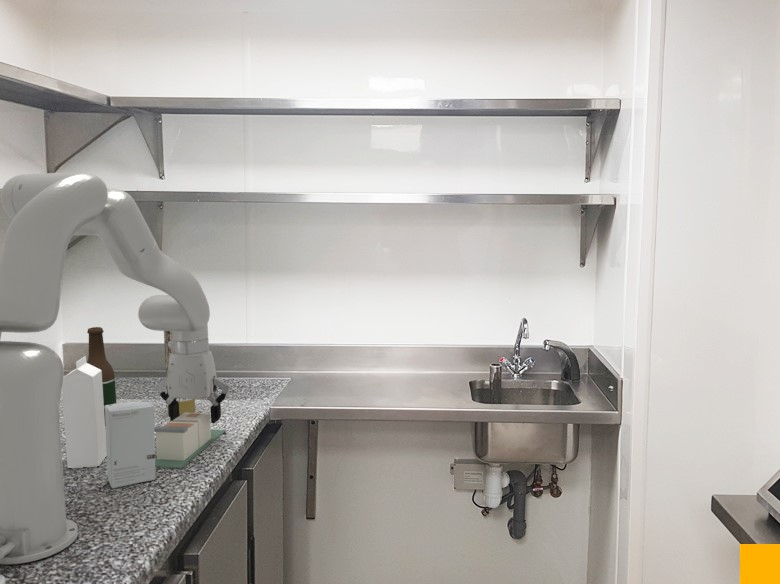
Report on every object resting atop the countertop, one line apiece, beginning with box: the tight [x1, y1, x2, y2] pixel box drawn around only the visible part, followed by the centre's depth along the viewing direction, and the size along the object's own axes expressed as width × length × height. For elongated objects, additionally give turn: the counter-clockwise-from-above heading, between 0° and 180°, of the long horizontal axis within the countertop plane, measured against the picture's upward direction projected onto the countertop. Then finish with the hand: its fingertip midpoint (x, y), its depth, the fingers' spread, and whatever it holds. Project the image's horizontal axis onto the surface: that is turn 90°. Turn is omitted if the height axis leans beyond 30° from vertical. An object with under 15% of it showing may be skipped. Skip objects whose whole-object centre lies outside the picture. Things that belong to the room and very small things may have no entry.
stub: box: [173, 412, 211, 448], centre depth 139 cm, size 6×6×6 cm
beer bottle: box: [86, 326, 117, 425], centre depth 155 cm, size 8×8×24 cm
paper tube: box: [163, 331, 196, 415], centre depth 161 cm, size 7×7×25 cm
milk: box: [61, 355, 107, 469], centre depth 128 cm, size 6×6×22 cm
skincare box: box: [105, 400, 157, 489], centre depth 120 cm, size 8×6×15 cm
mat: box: [155, 429, 226, 470], centre depth 138 cm, size 23×8×1 cm, turn 172°
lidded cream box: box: [154, 421, 199, 461], centre depth 133 cm, size 7×7×7 cm
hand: (195, 420), depth 141 cm, fingers open, 9 cm apart
